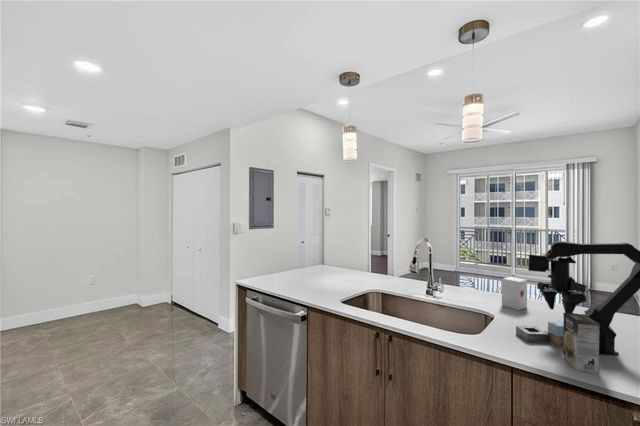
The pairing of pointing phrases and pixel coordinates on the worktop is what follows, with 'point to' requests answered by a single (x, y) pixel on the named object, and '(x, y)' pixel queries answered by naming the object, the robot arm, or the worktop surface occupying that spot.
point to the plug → (556, 328)
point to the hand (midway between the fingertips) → (560, 313)
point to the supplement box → (514, 293)
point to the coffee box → (581, 342)
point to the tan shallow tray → (555, 340)
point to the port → (532, 334)
